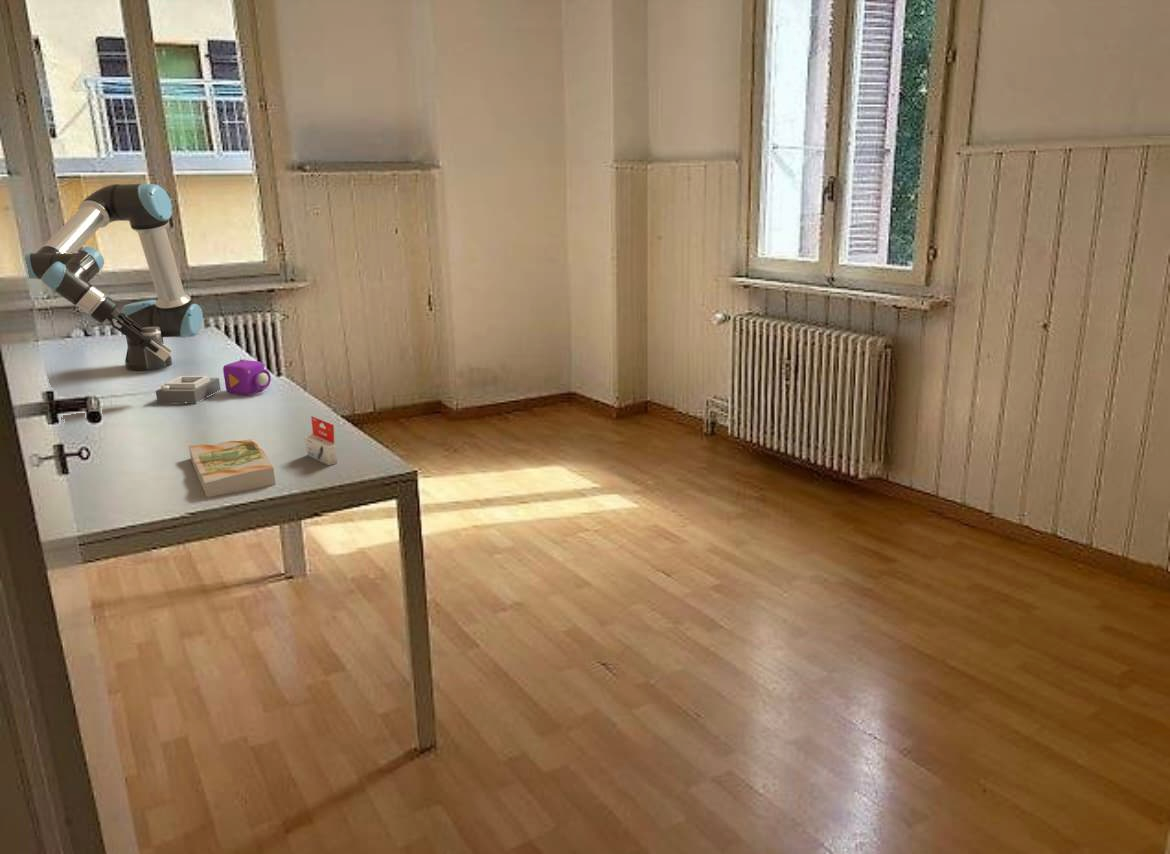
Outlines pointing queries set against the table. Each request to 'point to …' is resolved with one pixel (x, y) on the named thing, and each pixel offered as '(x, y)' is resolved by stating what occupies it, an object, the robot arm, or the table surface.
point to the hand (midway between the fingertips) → (168, 355)
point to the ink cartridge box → (321, 442)
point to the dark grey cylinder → (150, 357)
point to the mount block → (187, 389)
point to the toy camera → (246, 377)
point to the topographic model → (231, 467)
